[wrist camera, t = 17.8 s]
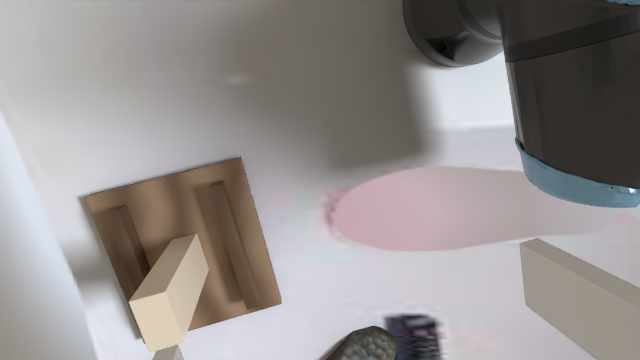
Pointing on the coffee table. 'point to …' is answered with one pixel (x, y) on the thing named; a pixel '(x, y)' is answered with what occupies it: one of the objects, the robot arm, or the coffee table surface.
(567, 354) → the coffee table surface
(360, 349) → the fossil
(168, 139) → the coffee table surface
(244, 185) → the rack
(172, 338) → the beige rectangular block
